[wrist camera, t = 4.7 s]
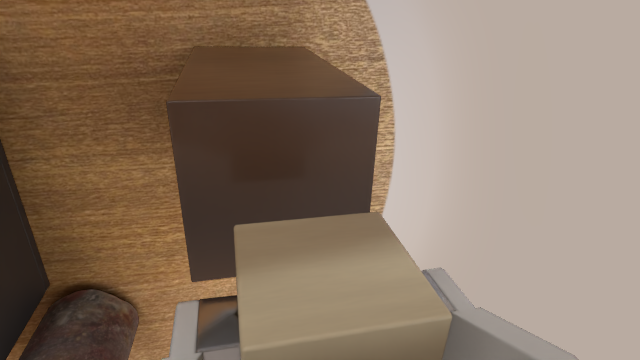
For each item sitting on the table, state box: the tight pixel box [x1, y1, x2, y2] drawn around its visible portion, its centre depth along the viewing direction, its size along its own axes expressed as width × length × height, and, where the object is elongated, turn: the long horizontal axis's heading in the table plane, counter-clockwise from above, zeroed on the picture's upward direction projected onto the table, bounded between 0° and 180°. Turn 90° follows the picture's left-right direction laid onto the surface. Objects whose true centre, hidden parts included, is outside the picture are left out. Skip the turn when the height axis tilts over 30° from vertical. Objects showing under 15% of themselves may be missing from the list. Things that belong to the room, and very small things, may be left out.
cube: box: [234, 212, 452, 360], centre depth 10 cm, size 4×4×4 cm
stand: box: [166, 47, 381, 282], centre depth 23 cm, size 8×8×16 cm
